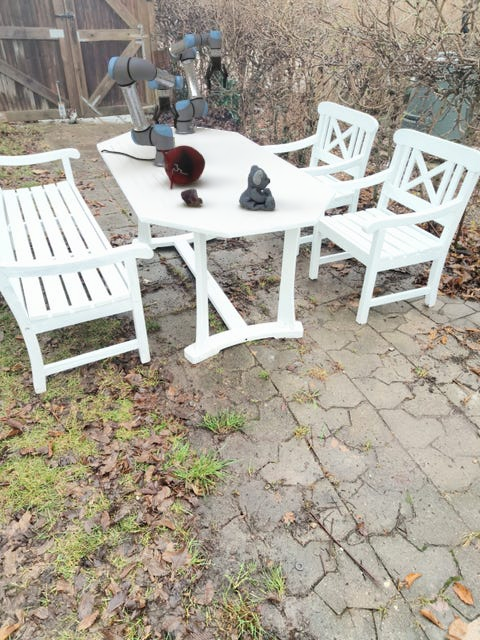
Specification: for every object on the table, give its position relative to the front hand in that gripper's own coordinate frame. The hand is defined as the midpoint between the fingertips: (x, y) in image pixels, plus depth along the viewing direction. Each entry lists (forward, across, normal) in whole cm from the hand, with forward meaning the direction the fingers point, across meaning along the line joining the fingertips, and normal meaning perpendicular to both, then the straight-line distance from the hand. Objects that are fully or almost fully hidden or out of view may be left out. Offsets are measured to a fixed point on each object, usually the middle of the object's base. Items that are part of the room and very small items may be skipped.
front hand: (167, 129), depth 315 cm
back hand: (-21, +51, +10) cm, 56 cm away
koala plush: (+14, -21, -126) cm, 129 cm away
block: (+14, 0, 0) cm, 14 cm away
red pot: (+14, -29, -70) cm, 78 cm away
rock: (+14, -46, -104) cm, 115 cm away
